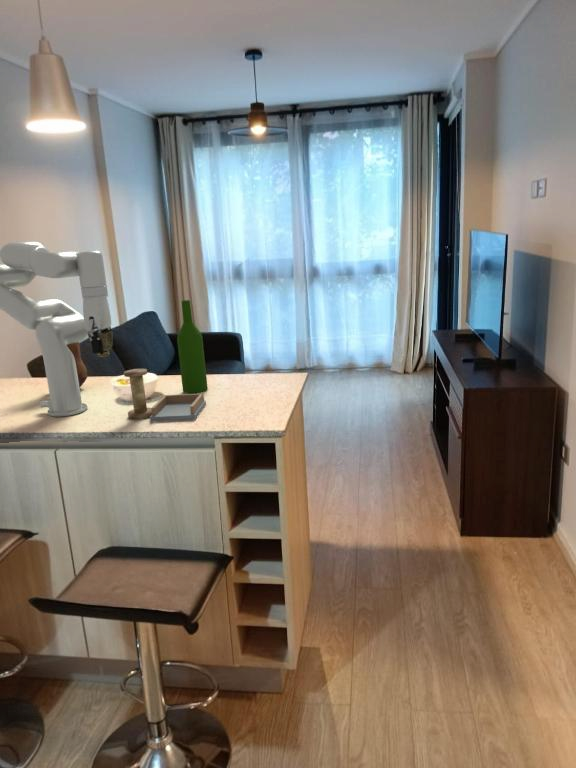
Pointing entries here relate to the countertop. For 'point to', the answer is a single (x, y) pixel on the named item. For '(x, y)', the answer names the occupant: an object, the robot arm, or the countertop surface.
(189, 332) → the wine bottle
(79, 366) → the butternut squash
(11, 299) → the robot arm
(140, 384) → the bobbin post
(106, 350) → the cup
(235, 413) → the countertop surface
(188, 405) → the wooden tray
